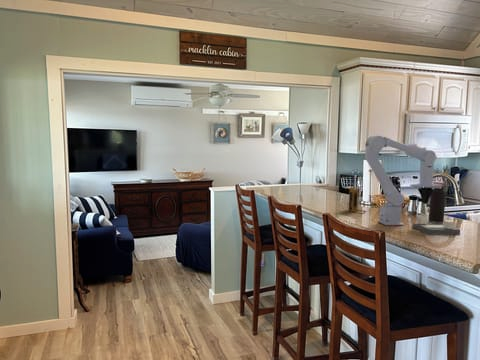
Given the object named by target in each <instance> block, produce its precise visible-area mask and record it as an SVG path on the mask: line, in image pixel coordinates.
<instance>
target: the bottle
mask: <svg viewBox="0 0 480 360" xmlns="http://www.w3.org/2000/svg"><path fill="white" fill-rule="evenodd" d="M433 184H442V188H433V189H434V191H433V193H432V194H431V196H430V198H429V208H428V221H429V222H431V223H444V220H445V209H446V197H447V196H446V195H447V192H446V191H445V189H444V188H445V184H446V183H445V181H433Z"/></svg>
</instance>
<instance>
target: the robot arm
mask: <svg viewBox="0 0 480 360" xmlns="http://www.w3.org/2000/svg"><path fill="white" fill-rule="evenodd" d="M364 146H365V151H364V152H365V156H364V158H365V160H366V162H367V164H368V166H369V167H370V169H371V171H372V172H373V174H374V176H375V178H376V179H377V181H378V183H379V185H380V186H381V188H382V193H383V194H384V200H385V202H386V203H385V205H381V206H380V207H379V215H378V216H379V217H378V220H377V221H378V222H379V223H381V224H382V225H384V226H404V225H405V223H403V222H401V221H402V210H403V209H402V207H403V206H402V205H403V204H404V202H405V197H404V195H403V194H402V193H400V192H399V190H398V189H397V188H396V186H394V184H393V183H392V181H391V179H390V177H389V175H388V174H387V172H386V170H385V168H384V166H383V165H382V163H381V162H380V161H381V160H380V159H379V154H380V152H381V151H382V150H383V148H389V147H390V148H393V149H396V150H399V151H402V152H404V154H405V156H406V157H407V156H408V157H411V158H414V159H416V160H419V161H420V163H419V164H420V165H419V166H420V167H419V183H414V184H413V183H411V184H410V187H409V188H410V189H413V190H415V189H417V190H418V192H419V195H420V197H421V201H422V204H426V205H427V204H428V203H429V202H430V196H431V194H432V193H433V191H434V188H442V184H433V183H434V167H435V166H434V165H435V162H436V160H437V158H438V157H437V154H436V152H435V151H433V150H430V149H427V148H426V147H425V146H424V147H421V146H418V144H417V143H410V144H406V143H403V142H400V141H397V140H395V139H392V138H390V137H386V136H382V135H372V136H369V137H368V138H367V140H366V142H365V145H364Z"/></svg>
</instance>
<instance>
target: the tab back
mask: <svg viewBox="0 0 480 360" xmlns="http://www.w3.org/2000/svg"><path fill="white" fill-rule="evenodd" d="M416 218H417V219H416V223H420V224H427V223H428V217H427V216H424V215H417V216H416Z"/></svg>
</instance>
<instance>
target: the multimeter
mask: <svg viewBox="0 0 480 360" xmlns="http://www.w3.org/2000/svg"><path fill="white" fill-rule="evenodd" d="M351 177H352V179H351V183H350V187H349V194H348V195H349V197H348V199H349V200H348V203H347V205H348V207H347V209H348V211H350V212H351V213H358V212H359V211H360V212H359V214H360V215H362V214H365V213H366V212H367V213H369V211H366V210H363V209H362V210H361V209H359V205H358V204H359V199H360V198H359V197H360V191H359V188H356V186H355V183H357V186H359V183H358V179H357V177H354V176H353V175H352V176H351ZM352 182H353V186H352Z"/></svg>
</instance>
